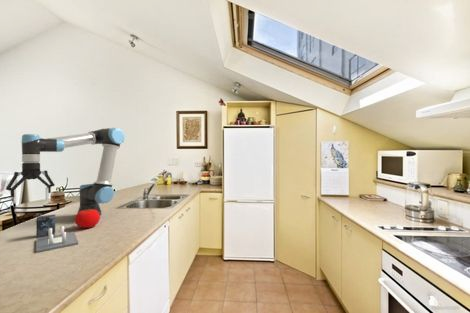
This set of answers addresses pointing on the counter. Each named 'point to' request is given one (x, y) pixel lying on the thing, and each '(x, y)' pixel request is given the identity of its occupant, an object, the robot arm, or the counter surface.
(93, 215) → the tomato
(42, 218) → the box
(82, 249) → the counter surface
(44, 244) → the grey stand base
